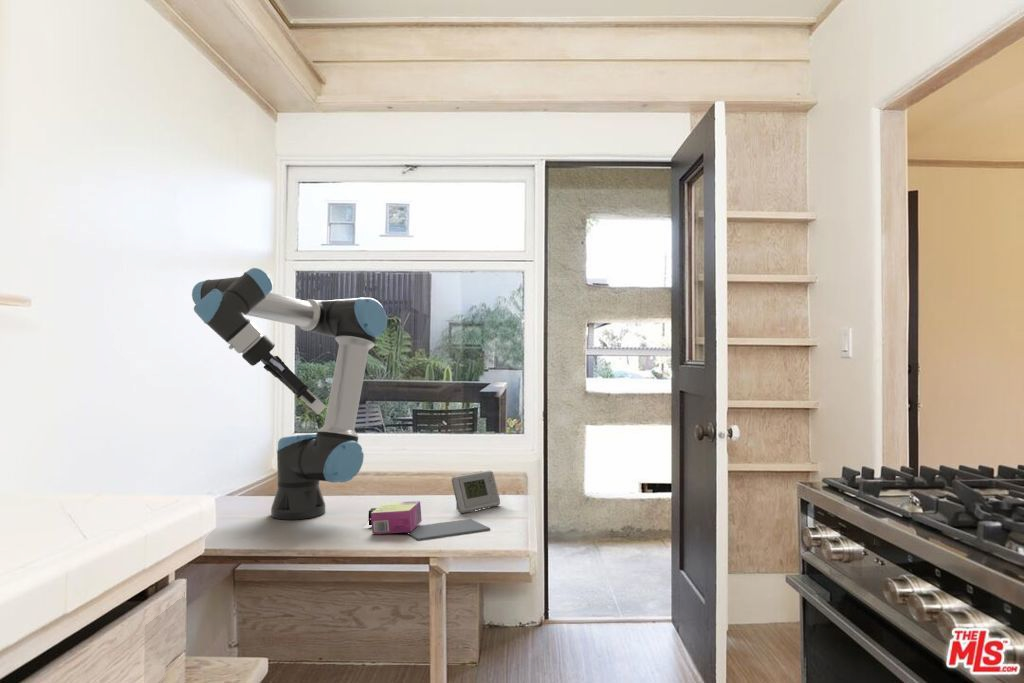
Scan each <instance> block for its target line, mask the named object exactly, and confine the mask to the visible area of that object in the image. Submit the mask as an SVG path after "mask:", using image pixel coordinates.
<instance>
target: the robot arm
mask: <svg viewBox="0 0 1024 683" xmlns="http://www.w3.org/2000/svg"><path fill="white" fill-rule="evenodd" d="M273 287H274V285H273V281H272V279H271V278H270V276H269V274H268V273H266V272H265V271H263V269H261V268H257V267H252V268H250V269H249V270H247V271H244V272H243V273H242V275H240V276H235V277H226V278H218V279H217V278H216V279H215V278H214V279H206V280H203V281H199V282H197V283H196V284H195V285H194V286H193V288H192V292H191V298H192V302H193V303H194V304H195V305H194V307H193V311H194V312H195V314H196V315H197V316H198V317H199V318H200V319H201V321H203V323H204V324H205V325H207V326H208V327H209V328H210V329H212V331H214V332H215V333H216V334H217V335H218V336H219V337H220V338H221V339H222V340H224V342H226V343H227V345H229V346H228V349H229V350H233V349H234V351H235V352H236V353H238V354H242V355H241V356H242V358H243V359H244V360H245V361H246V362H247V363H248V364H249V365H250V366H252V367H253V366H256V365H257V364H258V363H260V362H261V363H262V364H264V366H263V368H264V370H265V371H267V372H269V373H270V374H271V375H272V376H273V377H275V378H277V380H279V381H280V382H281V383H282V384H283V385H285V386H286V387H287V388H288V389H289V390H290V391H291V392H292V393H293V394H295V395H296V398H297V399H298V400H299V399H301V400H302V401H303V402H304V403H305V404H306V405H307V406H308V407H309V409H312V411H313V412H314V413H316V414H317V415H320V414H322V412H323V411H324V410H325V409H326V408H327V409H326V412H325V416H324V417H325V418H324V423H323V426H322V427H320V428H319V429H318V430H317V431H316V432H314V433H306V434H299V435H293V436H292V435H291V436H283V437H281V438H279V440H278V442H277V450H276V456H277V457H276V458H277V467H276V468H277V490H276V493H275V495H274V499H273V501H272V505H271V508H270V516H271V518H273V519H277V520H301V519H302V520H303V519H310V518H315V517H319V516H322V515H324V514H325V513H326V502H325V500H324V496H323V493H322V490H321V487H320V481H321V482H328V483H331V484H332V483H334V484H335V483H336V484H337V483H347V482H350V481H352V480H353V479H354V477H356V476H357V475H358V474H359V472H360V470H361V468H362V466H363V463H364V451H363V447H362V445H361V444H360V443H359V436H358V434H357V433H356V430H355V428H356V424H357V423H356V421H357V417H358V411H359V406H360V400H361V395H362V389H363V383H364V377H365V373H366V372H365V371H366V367H367V360H368V355H369V351H370V350H371V349H372V348H374V347H375V345H376V340H377V338H379V337H380V336H382V335H383V334H384V333H385V332H386V330H387V325H388V318H387V313H386V311H385V309H384V307H383V305H382V304H381V303H380V301H379V300H377V299H375V298H372V297H364V296H363V297H362V296H361V297H356V298H355V297H354V298H344V299H332V300H318V299H317V300H316V299H312V298H307V299H305V300H302V299H297V298H293V297H291V296H286V295H281V294H277V293H274V292H271V291H272V290H273V289H274V288H273ZM247 316H249V317H254V318H260V319H264V320H269V321H274V322H278V323H283V324H289V325H292V326H293V325H294V326H298V327H299V329H300V330H303V331H305V332H310V333H315V334H318V335H322V336H326V337H330V338H334V339H335V341H336V342H337V344H338V350H337V355H336V361H335V365H334V371H333V376H332V377H333V378H332V381H331V385H330V386H331V387H330V391H329V398H328V403H327V405H325V403H324V402H322V401H321V400H320V399H319V398H318V397H317V396H316V395H315V394H314V393H313V392H311V390H310V389H308V385H307V384H305V383H304V382H303V381H302V380H301V379H300V378H299V377H298V376H297V375H296V374H295V373H294V372H292V370H291V369H290V368H289V366H287V364H285V362H284V361H283V360H282V358H280V357H279V355H273V354H272V353H271V351H272V350H273V349H274V348H275V346H276V344H275V342H273V341H272V340H271V339H270V338H269V337H268V336H267V335H265V334H264V335H263V331H262V330H261V329H260V327H258V325H256V324H255V323H254V322H253V321H252V320H251V319H249V318H248V317H247Z"/></svg>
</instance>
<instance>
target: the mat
mask: <svg viewBox="0 0 1024 683" xmlns="http://www.w3.org/2000/svg"><path fill="white" fill-rule="evenodd" d="M485 530H487V531H491V528H490V527H489V526H488V525H487V526H486V525H484V524H482V523H480V522H479V521H476V520H474V519H472V518H466V519H459V520H452V521H443V522H436V523H429V524H423V525H422V524H421V525H417V526H416V527H415V528H414V529H413V530H412V531H411V532H407V533H409V534H410V535H412V536H413V537H414V538H413V537H412V536H411V537H412V538H413V539H415V538H416V539H417V540H416V539H415V540H416V541H423V539H425V540H430V539H431V538H432V539H437V538H444V537H445V538H446V537H451V536H452V537H453V536H459V535H465V534H473V532H474V533H480V532H479V531H481V532H486V531H485ZM407 533H406V534H407ZM409 534H408V535H409ZM410 535H409V536H410Z"/></svg>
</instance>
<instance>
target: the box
mask: <svg viewBox="0 0 1024 683" xmlns="http://www.w3.org/2000/svg"><path fill="white" fill-rule="evenodd" d="M421 507H422V506H421V501H420V500H413V501H401V502H400V501H399V502H383V503H382V504H381V505H379V506H378V507H376V508H377V509H375V510H374V511H373V512H371V519H370V520H371V523H372V529H371V532H372V533H374V534H373V535H385V534H399V533H402V534H403V533H406V532H411V531H412V530H413V529H414V528H415V527H416V526H419V524H420V523H422V522H423V521H422V508H421Z"/></svg>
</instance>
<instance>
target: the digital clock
mask: <svg viewBox="0 0 1024 683" xmlns="http://www.w3.org/2000/svg"><path fill="white" fill-rule="evenodd" d="M451 484H452V490H453V494H454V497H455V502H456V504H455V506H456V507H455V508H456V510H457V509H458V512H459V514H466V512H467V513H472V512H471V511H475V510H479V509H483V508H488V507H492V506H494V507H498V506H500V504H501V500H500V494H499V492H498V491H499V490H498V486H497V483H496V478H495V475H494V473H493V471H492V470H490V469H489V470H483V471H482V470H481V471H475V472H469V473H464V474H458V475H454V476H452V478H451ZM497 505H498V506H497ZM492 508H493V507H492ZM475 512H476V511H475Z"/></svg>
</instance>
